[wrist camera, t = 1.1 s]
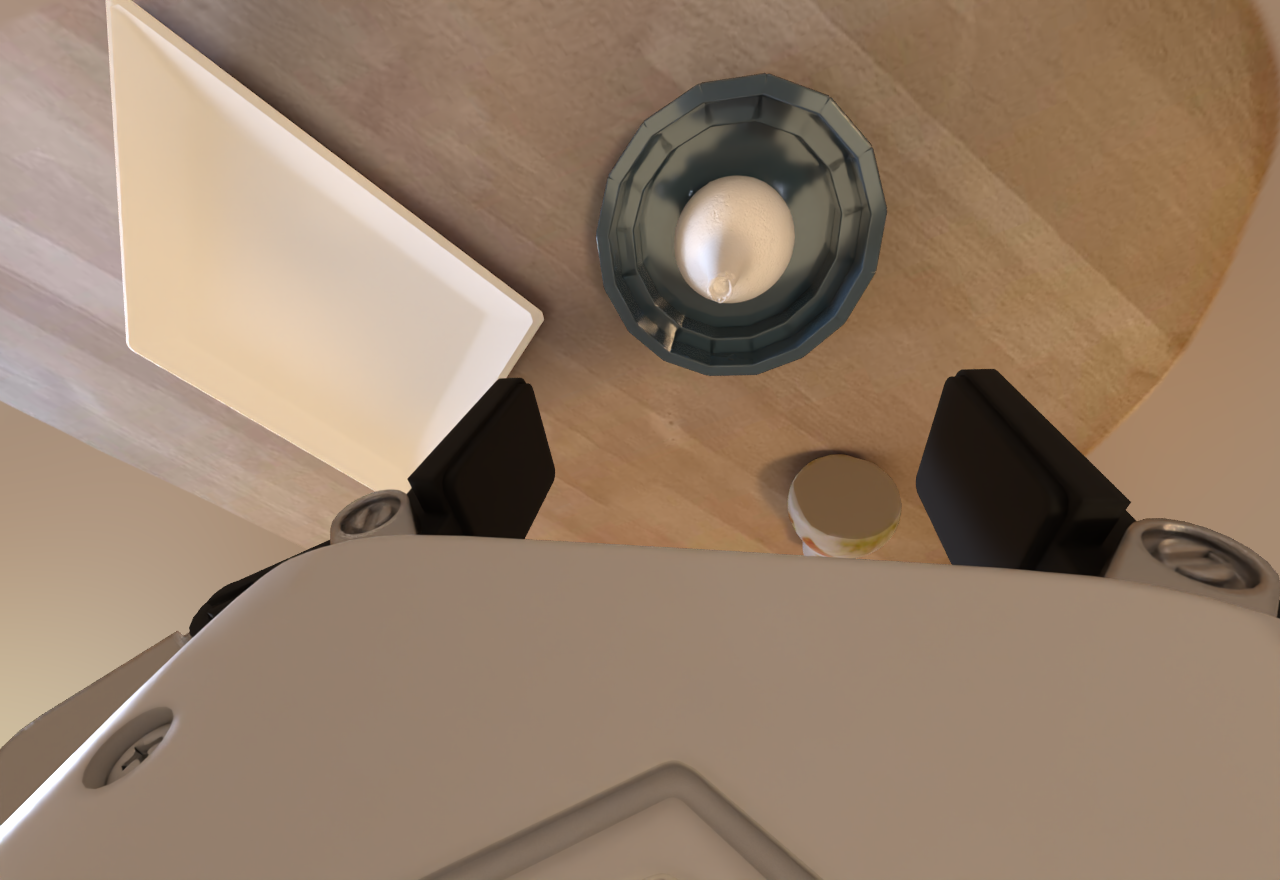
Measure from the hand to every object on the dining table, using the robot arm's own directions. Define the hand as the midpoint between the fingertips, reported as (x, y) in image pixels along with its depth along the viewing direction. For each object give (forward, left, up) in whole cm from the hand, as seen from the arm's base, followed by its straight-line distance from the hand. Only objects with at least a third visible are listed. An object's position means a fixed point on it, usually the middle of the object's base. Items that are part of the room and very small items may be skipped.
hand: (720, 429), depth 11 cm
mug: (+20, +8, -19) cm, 29 cm away
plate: (+4, -30, -19) cm, 36 cm away
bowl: (0, 0, -19) cm, 19 cm away
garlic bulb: (0, 0, -19) cm, 19 cm away
